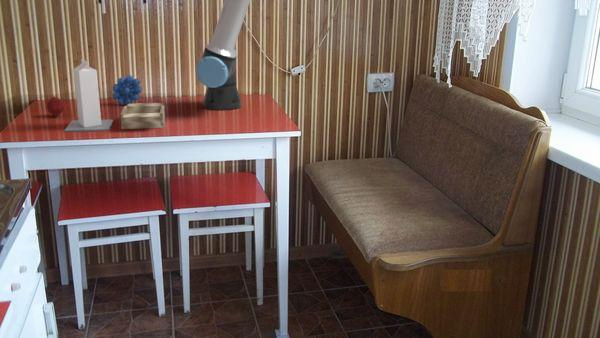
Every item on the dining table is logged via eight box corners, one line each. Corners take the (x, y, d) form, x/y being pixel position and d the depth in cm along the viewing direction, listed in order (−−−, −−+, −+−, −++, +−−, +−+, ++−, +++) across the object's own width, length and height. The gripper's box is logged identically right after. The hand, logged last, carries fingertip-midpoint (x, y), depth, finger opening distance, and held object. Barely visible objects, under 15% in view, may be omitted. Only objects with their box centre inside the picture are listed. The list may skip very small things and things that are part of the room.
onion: (68, 116, 222) (65, 95, 220) (52, 119, 218) (50, 97, 216) (60, 114, 226) (58, 92, 223) (45, 116, 222) (42, 94, 219)
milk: (84, 127, 204) (77, 62, 197) (78, 124, 209) (71, 59, 202) (102, 125, 208) (95, 60, 201) (96, 121, 212) (90, 58, 206)
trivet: (113, 121, 216) (113, 119, 216) (108, 130, 203) (108, 129, 203) (72, 122, 214) (71, 120, 214) (64, 132, 201) (64, 130, 201)
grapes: (144, 103, 247) (142, 73, 243) (142, 106, 241) (140, 76, 237) (115, 103, 245) (112, 73, 242) (112, 106, 239) (109, 76, 235)
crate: (165, 116, 225) (164, 102, 223) (163, 130, 204) (162, 116, 203) (126, 117, 223) (125, 103, 221) (120, 131, 202) (119, 117, 200)
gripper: (155, -48, 220) (158, 12, 227) (83, -49, 216) (89, 12, 222) (154, -49, 213) (158, 13, 220) (80, -50, 209) (86, 14, 215)
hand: (123, 13), depth 221 cm, fingers open, 13 cm apart
